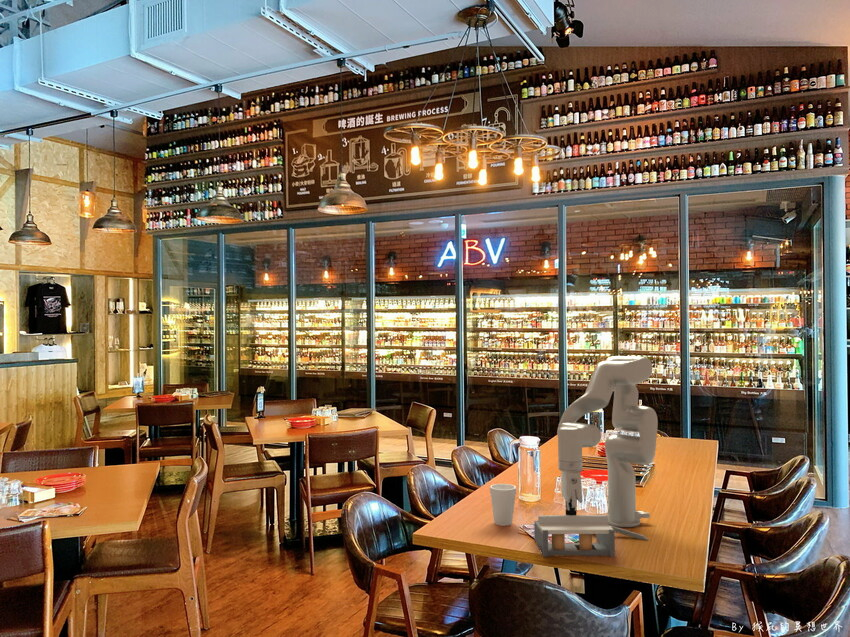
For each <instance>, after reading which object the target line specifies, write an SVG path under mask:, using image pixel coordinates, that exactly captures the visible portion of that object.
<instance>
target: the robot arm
mask: <svg viewBox="0 0 850 637" xmlns="http://www.w3.org/2000/svg"><path fill="white" fill-rule="evenodd" d="M652 372H653V364H652V361H651V359H649V358H648V357H645V356H629V355H614V356H613V355H612V356H609V357H607V358H606V359H605V360H602V361H599V362H598V363H597V364H596V366H595V367H594V369H593V373H592V375H591V377H590V379H589V382H588V385H587V387H586V390H585V392H584V394H583V395H582V396H580V397H579V398H577V399H576V400H575V401H573V402H572V403H571V404H570V405H568V406H567V408H566V409H565V410H564V411H563V414H562V415H561V418H560V420H559V423H558V427H557V430H556V431H557V432H556V434H557V443H558V444H557V454H558V455H557V456H558V457H557V458H558V459H557V460H558V462H557V463H558V470H559V471H560V472H561V473H560V475H561V476H560V477H561V478H560V479H561V483H560V484H561V488H560V489H561V495H562V497H563V498H564V501H565V515H577V504H578V503H580V504H582V503H583V488H582V486H583V485H582V474H581V472H583V448H594V447H596V446H597V445H598V444H599V443H600V442H601V438H602V435H601V430H600V428H599V427H598V426H596V425H594V424H590V423H584V422H583V423H582V422H577V421H578V420H580V419H581V418H582V417H583V416H585V415H588V414H591V413H593V412H597V411H600V410H602V409H604V408H606V407H607V406H608V405H609V403H610V400H611V397H612V395H613V406H612V412H611V413H612V414H611V417H612V418H611V422H612V426H613V428H615V429H616V430H618V431H622V432H623V431H624V432H631V433H639V436H638V435H630V434H621V433H614V434H611V435H609V436H608V437H606V439H605V442H604V452H605V457H606V462H607V463H606V464H607V491H608V492H607V505H608V506H607V509H608V513H607V515H608V524H609V525H611V526H614V527H618V528H636V527H639V526H640V525H641V519H643V518H644V519H650V517H651V516H650V515H651V514H650V512H648V511H647V512H646V511H645V512H644V511H638V510H637V507H636V506H637V505H636V504H637V502H636V501H637V500H636V495H637V494H636V493H637V492H636V473H635V470H634V467H633V466H632V464H637V465H638V464H639V465H643V466H644V465H650V464H651V463H652V462H653V461H654V459H655V457H656V456H655V455H656V450H657V447H656V446H657V438H658V425H659V424H658V423H659V421H658V415H657V413H656V411H655V410H654V408H652V407H650V406H646V405H639V389H638V388H637V386H636V385H638V384H640V383H643V382H645V381H647V380H649V379H650V377H651V375H652ZM577 501H578V503H577Z"/></svg>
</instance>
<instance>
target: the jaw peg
mask: <svg viewBox="0 0 850 637" xmlns="http://www.w3.org/2000/svg"><path fill="white" fill-rule="evenodd" d="M578 543H579V550H593V549H592V543H593V534H578Z"/></svg>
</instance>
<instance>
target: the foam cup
mask: <svg viewBox="0 0 850 637" xmlns="http://www.w3.org/2000/svg"><path fill="white" fill-rule="evenodd" d="M489 494H490V499H491V500H490V501H491V507H492V515H493V521H494V524H495V525H497V526H504V527H505V526H506V525H507V526H512V524H513V519H514V512H515V503H516V495H517V486H516V485H514V484H510V483H495V484H491V485H490V486H489Z"/></svg>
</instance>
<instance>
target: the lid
mask: <svg viewBox="0 0 850 637" xmlns="http://www.w3.org/2000/svg"><path fill="white" fill-rule="evenodd" d="M537 521H538V525H539V529H540V530H541V532H542V534H543V530H548V535H552V534H565V535H579V534H592V535H594V534H595V535H596V534H609V529H613V528H612V527H611V526H612V525H611V526H610V524H608V514H578V515H566V514H565V515H564V514H560V515H559V514H555V515H552V514H548V515H546V514H544V515H543V514H542V515H540V514H539V515H538V520H537Z"/></svg>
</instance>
